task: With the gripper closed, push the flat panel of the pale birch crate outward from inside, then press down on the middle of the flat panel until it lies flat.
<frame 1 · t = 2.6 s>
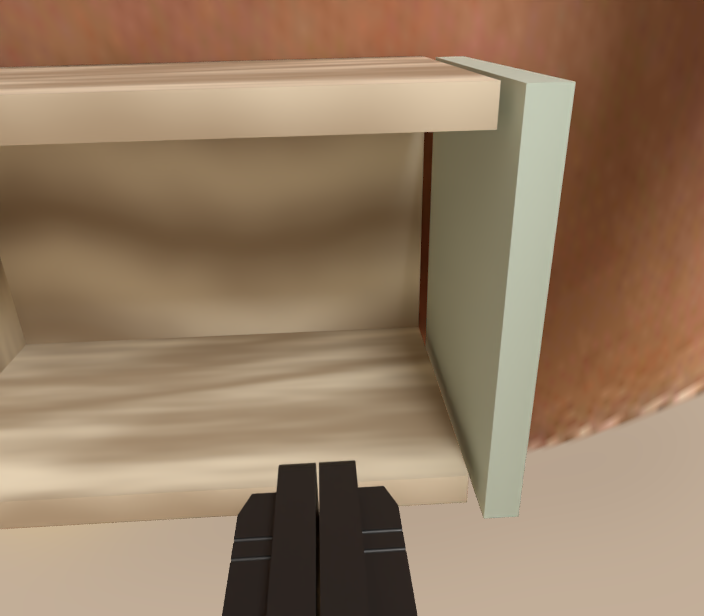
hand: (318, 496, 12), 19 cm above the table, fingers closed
flat panel: (472, 263, 23), point 7 cm above the table, hinge at 0.0°
crate: (202, 218, 29), on the table
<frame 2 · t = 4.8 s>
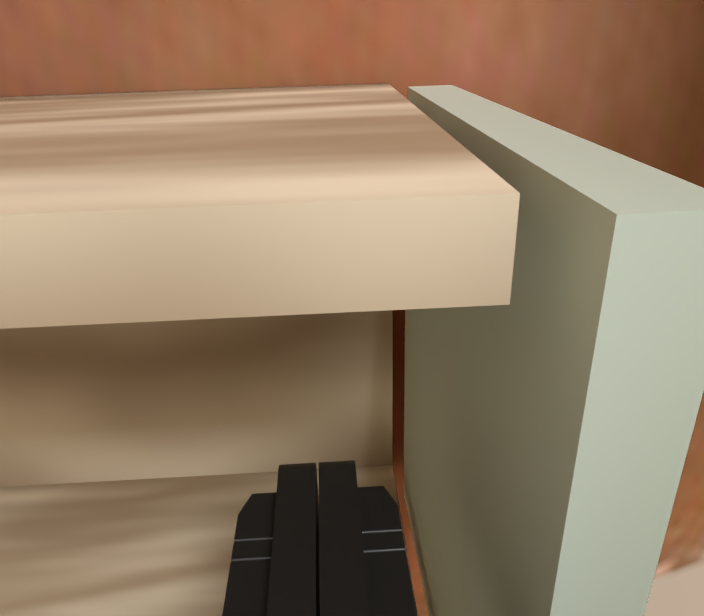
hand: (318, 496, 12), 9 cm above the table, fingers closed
flat panel: (469, 436, 14), point 7 cm above the table, hinge at 0.9°, touching gripper
crate: (71, 320, 20), on the table
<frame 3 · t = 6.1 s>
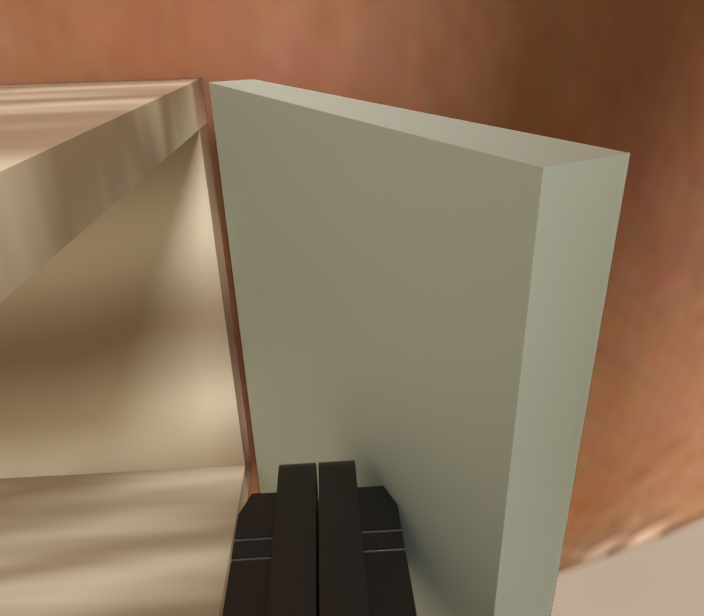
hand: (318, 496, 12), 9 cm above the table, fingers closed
flat panel: (343, 418, 14), point 7 cm above the table, hinge at 25.0°, touching gripper
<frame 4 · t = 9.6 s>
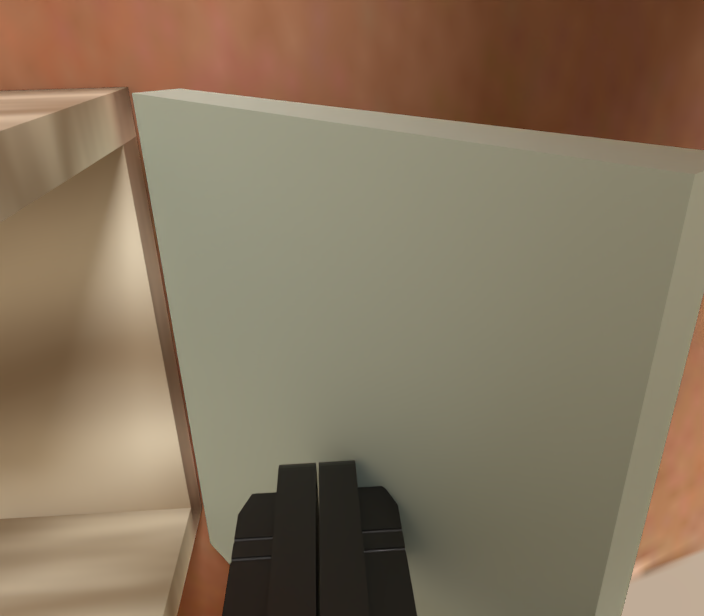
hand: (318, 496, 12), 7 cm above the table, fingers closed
flat panel: (337, 449, 13), point 6 cm above the table, hinge at 39.8°, touching gripper
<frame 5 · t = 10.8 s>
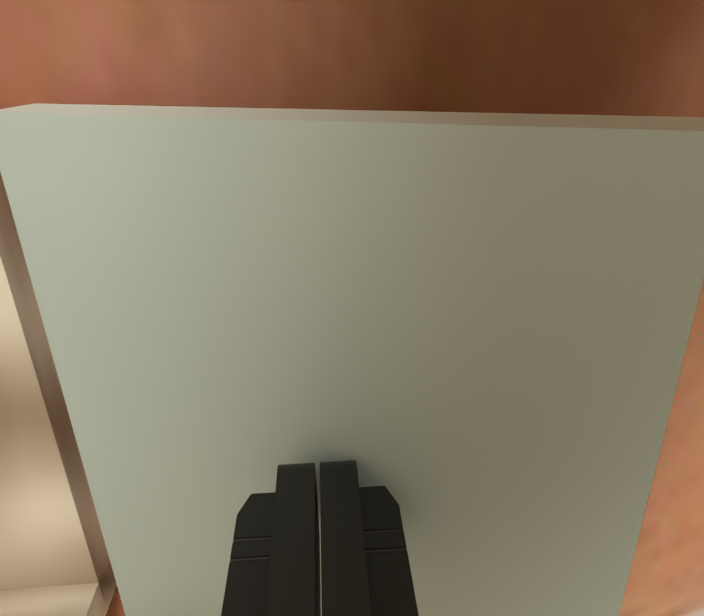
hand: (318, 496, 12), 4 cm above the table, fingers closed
flat panel: (322, 460, 13), point 3 cm above the table, hinge at 67.8°, touching gripper
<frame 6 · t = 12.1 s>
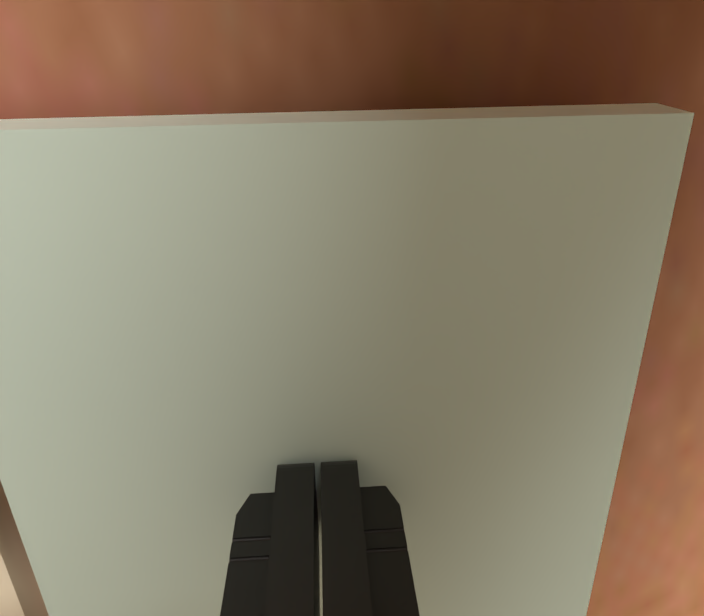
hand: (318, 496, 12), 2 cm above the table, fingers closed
flat panel: (310, 470, 12), point 2 cm above the table, hinge at 86.7°, touching gripper
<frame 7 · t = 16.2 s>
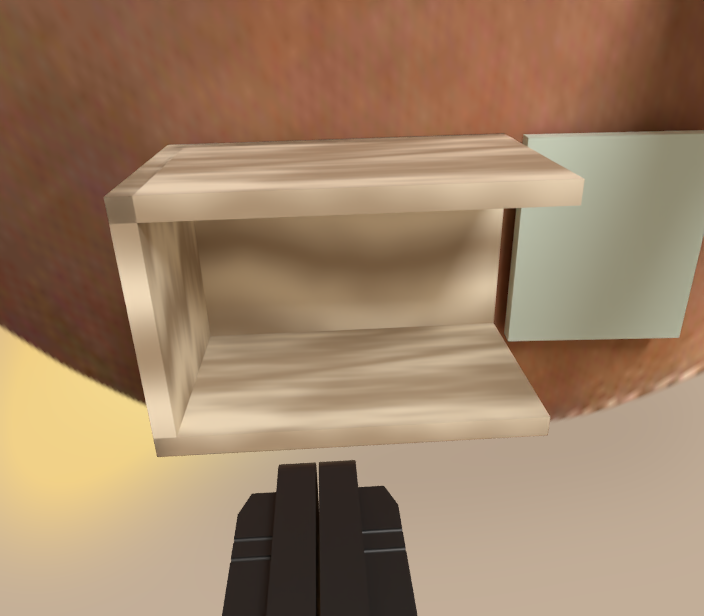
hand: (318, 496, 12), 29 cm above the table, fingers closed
flat panel: (605, 242, 39), point 2 cm above the table, hinge at 86.8°
crate: (341, 245, 40), on the table
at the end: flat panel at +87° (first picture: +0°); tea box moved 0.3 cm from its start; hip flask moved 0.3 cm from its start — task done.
